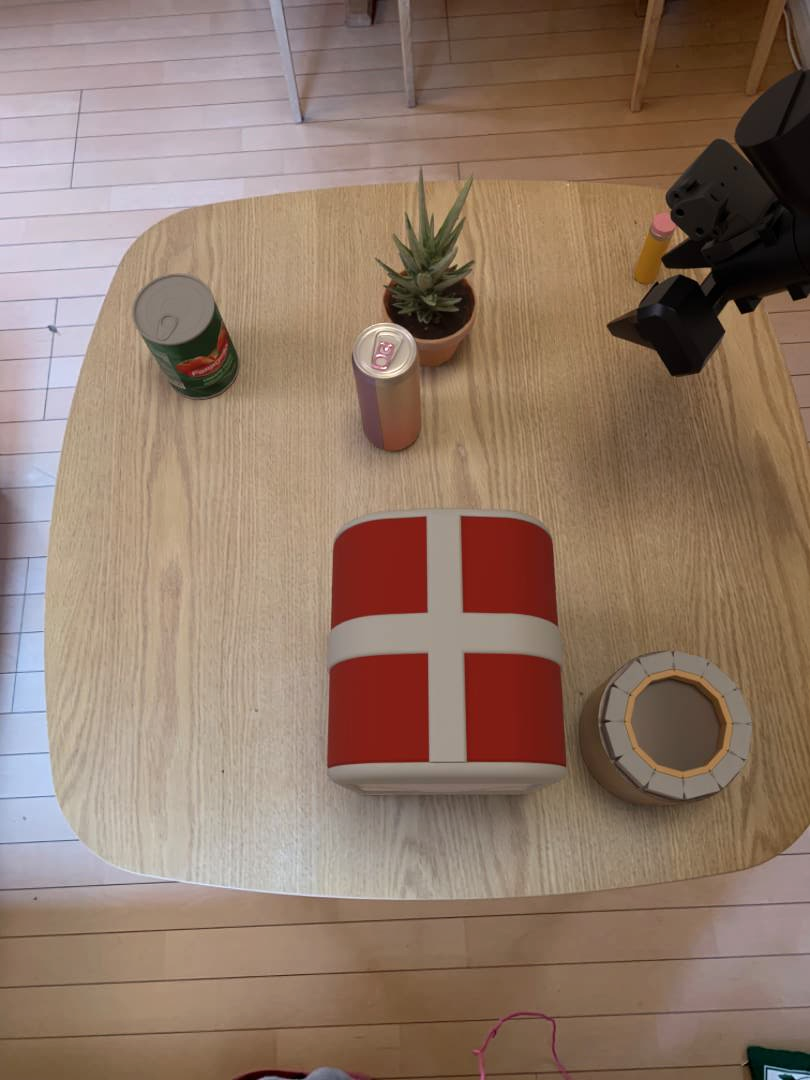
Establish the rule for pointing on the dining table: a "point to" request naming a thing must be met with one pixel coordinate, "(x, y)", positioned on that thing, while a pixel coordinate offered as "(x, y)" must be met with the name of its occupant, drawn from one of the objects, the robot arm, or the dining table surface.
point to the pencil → (654, 248)
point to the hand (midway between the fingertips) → (637, 295)
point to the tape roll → (726, 705)
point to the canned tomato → (186, 335)
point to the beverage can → (388, 385)
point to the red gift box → (445, 655)
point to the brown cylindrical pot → (652, 735)
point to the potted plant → (431, 285)
